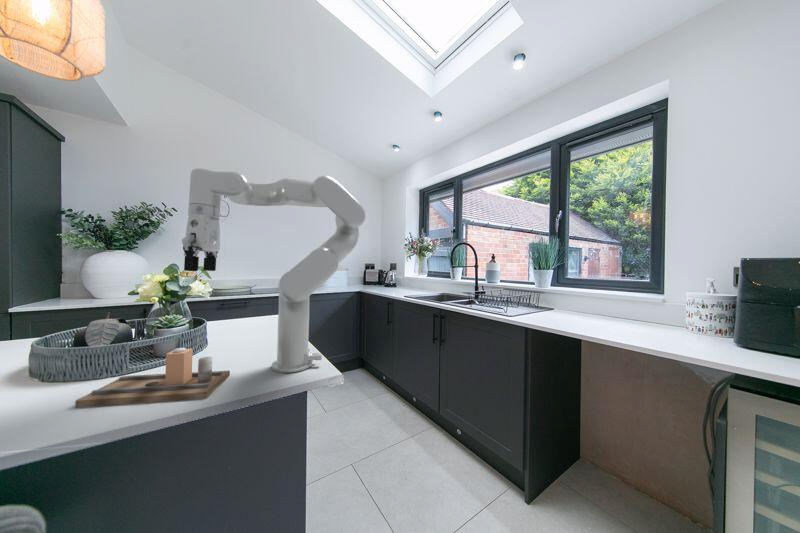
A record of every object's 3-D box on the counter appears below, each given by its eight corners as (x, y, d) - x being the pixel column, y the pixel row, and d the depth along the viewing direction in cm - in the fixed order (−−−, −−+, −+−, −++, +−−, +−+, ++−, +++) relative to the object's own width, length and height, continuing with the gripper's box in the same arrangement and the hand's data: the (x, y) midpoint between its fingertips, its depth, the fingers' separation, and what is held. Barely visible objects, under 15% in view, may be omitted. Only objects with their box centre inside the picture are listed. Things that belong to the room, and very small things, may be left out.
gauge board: (229, 375, 79) (230, 350, 79) (206, 398, 66) (207, 367, 66) (124, 381, 74) (125, 354, 74) (75, 407, 60) (76, 373, 60)
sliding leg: (191, 378, 73) (192, 346, 73) (183, 384, 69) (184, 351, 69) (174, 379, 72) (175, 347, 72) (165, 385, 68) (166, 351, 68)
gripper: (202, 207, 71) (198, 271, 71) (231, 219, 88) (228, 271, 88) (170, 204, 70) (166, 270, 70) (205, 217, 87) (202, 270, 87)
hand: (200, 270), depth 79 cm, fingers open, 9 cm apart
